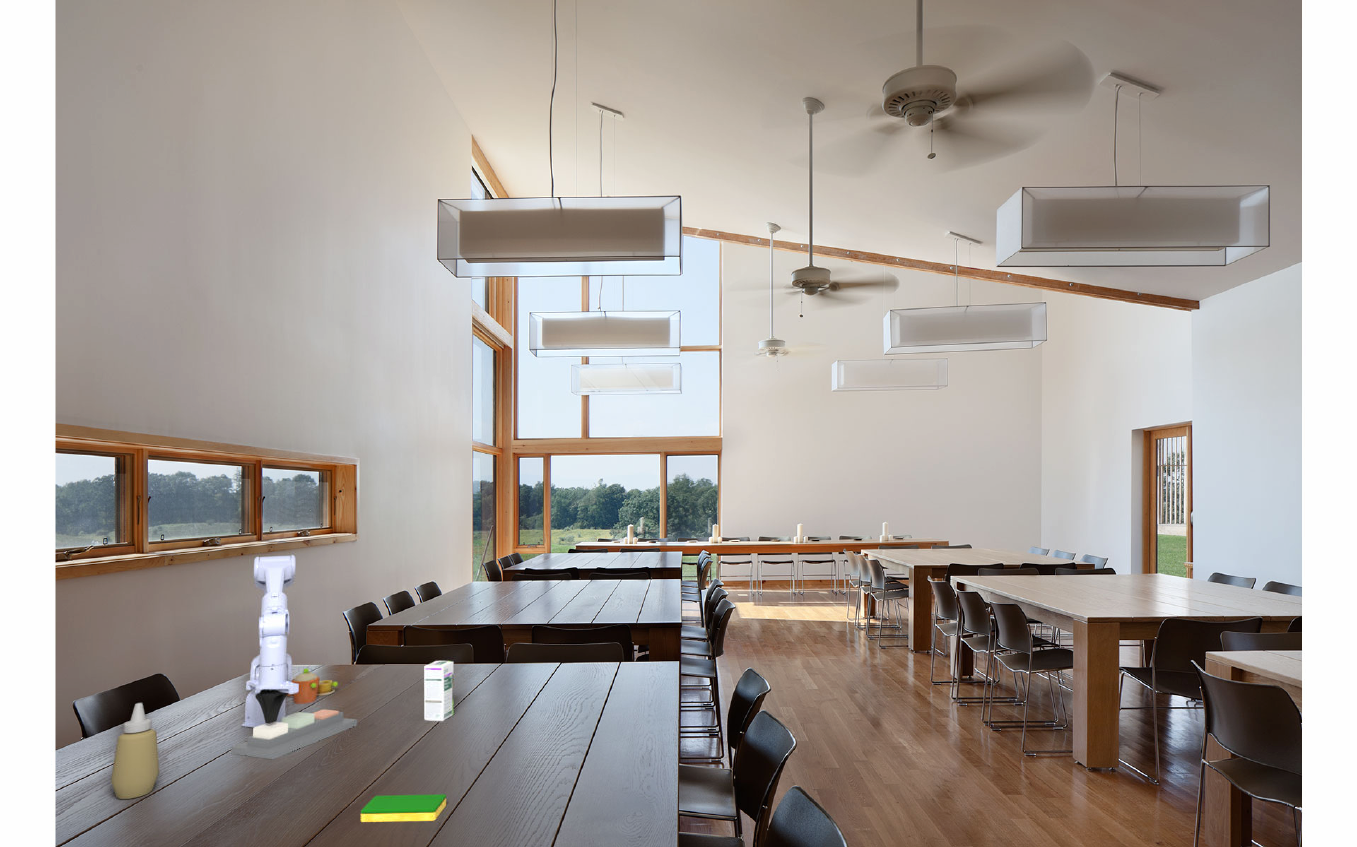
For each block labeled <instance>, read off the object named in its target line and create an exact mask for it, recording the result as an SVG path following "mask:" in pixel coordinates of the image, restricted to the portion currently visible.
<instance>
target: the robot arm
mask: <svg viewBox="0 0 1357 847" xmlns="http://www.w3.org/2000/svg"><path fill="white" fill-rule="evenodd" d="M295 576H296V556H295V555H294V554H290V555H278V556H277V555H275V556H274V555H273V556H260V557H259V556H256V557H255V558H254V561H253V580H254V582H253V584H254V586H255V588H256V589H259V590H262V593H263V595H264V596H262V598H261V606H260V608H261V609H260V610H261V612H260V617H259V618H258V638H259V654H258V655H257V656H255V657H254V658H253V659H252V661H251V665H250V671H249V672H250V676H249V679H250V681H248V680H247V681H246V682H245V683H246V684H245V685H246V686H245V691H250V692H249V693H247V694H248V695H247V696H246V698H245V708H244V722H243V723H242V724H241V727H246V728H254V727H257V726H260V725H263V724H266V723H268V724H270V723H273V722H281V718H283V717H286V705H287V704H286V701H287V697H288V696H287V694H288V693H289V694H294V693H297V692H298V691H299V684H295V683H292V680H293V662H292V661H293V659H292V658H293V657H291V655H290V654H289V653H288V652H287V651H288V649H287V645H288V636H289V634H290V624H291V623H290V622H291V620H290V619H291V618H290V613H289V609H288V596H287V594H286V593H284V592H285V590H286V588H288V587H291V586H293V584H294V581H295Z"/></svg>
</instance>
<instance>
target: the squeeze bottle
mask: <svg viewBox="0 0 1357 847" xmlns="http://www.w3.org/2000/svg"><path fill="white" fill-rule="evenodd" d="M132 710H133V711H132V714H131V717H130V720H129V721H126V722H124V724H123V733H122V734H121V735H119V736H118V737H117V741H116V742H117V743H116V747H115V753H114V759H113V765H112V770H111V772H112V773H111V777H110V782H111V785H112V788H113V791H114V793H115V796H116V799H119V800H120V799H121V800H128V799H135V798H140V797H142V796H145V795H147V794H150V793H151V792H152V791H153V789H154V786H155V783H156V782H157V778H158V776H159V774H160V766H159V765H160V764H159V752H158V751H159V750H158V737H157V736H158V735H157V730H155V729H153V728H152V722H153V721H152V719H151V718H146V714H145V709H144V705H143V702H137V703H135V704H134V707H133V709H132Z"/></svg>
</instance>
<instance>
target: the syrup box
mask: <svg viewBox="0 0 1357 847" xmlns="http://www.w3.org/2000/svg"><path fill="white" fill-rule="evenodd" d="M423 670H424V671H423V672H424V673H423V678H424V679H423V683H424V685H423V688H424V691H423V692H424V694H423V698H424V700H423V702H424V705H423V706H424V707H423V709H424V712H423V714H424V715H423V716H424V718H423V719H424V721H431V722H444V721H446V720H447V719H448V718H450V717H452V716H454V714H455V713H454V712H455V711H454V710H455V707H454V706H455V705H454V704H455V701H454V700H455V697H454V696H455V695H454V694H455V693H454V688H455V686H454V684H455V683H454V680H455V679H454V660H435V661H433V662H430V663H429V664H427V665H424V668H423Z"/></svg>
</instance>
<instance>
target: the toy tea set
mask: <svg viewBox="0 0 1357 847" xmlns="http://www.w3.org/2000/svg"><path fill="white" fill-rule="evenodd" d="M247 681H250V678H249V679H248V680H247ZM292 683H295V684H299V691H298V692H297V693H294V694H289V693H288V694H287V696H286V697H292V698H293V702H294V704H297V705H300V704H310V703H313V702H315V701H316V700H317V697H323V696H329V695H332V694H334V693H335V692H336V690H335V689H334V688H337V687H338V684H339V683H338V682H337V681H333V680H330V679H327V680H325V679H324V680H321V679H320V676H318V675H317V674H315V673H313V672H312V671H311V672H310V670H309V669H308V668H307V667H306V668H304V669H303V671H302V673H299V674H298V675H296V676H295V677H294V678H292Z"/></svg>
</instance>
